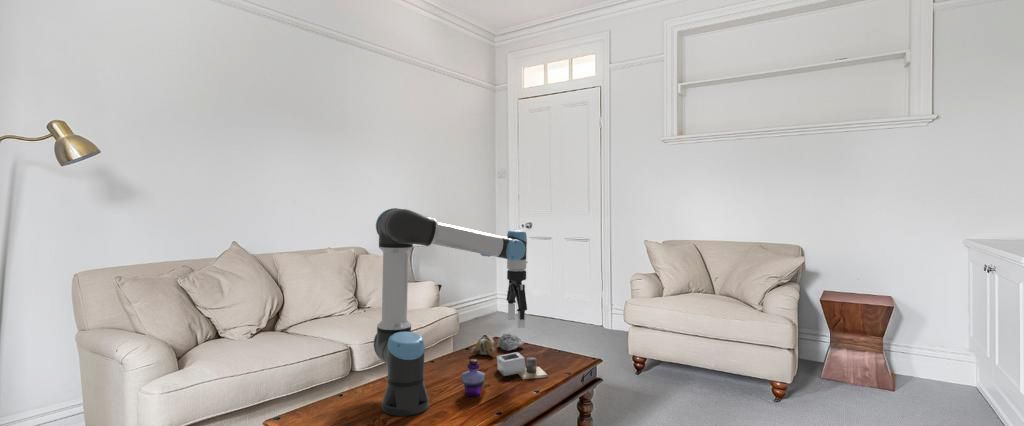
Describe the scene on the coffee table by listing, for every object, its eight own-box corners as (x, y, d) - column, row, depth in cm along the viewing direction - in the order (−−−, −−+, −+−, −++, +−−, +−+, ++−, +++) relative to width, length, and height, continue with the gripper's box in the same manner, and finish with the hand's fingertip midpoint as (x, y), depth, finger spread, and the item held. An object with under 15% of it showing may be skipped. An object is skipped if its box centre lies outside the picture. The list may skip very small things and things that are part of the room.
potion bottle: (489, 396, 184) (489, 362, 184) (465, 400, 180) (466, 365, 180) (479, 388, 192) (480, 355, 191) (457, 391, 188) (457, 358, 187)
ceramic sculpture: (499, 330, 240) (493, 341, 226) (499, 349, 241) (493, 361, 226) (476, 329, 242) (468, 340, 227) (476, 348, 243) (468, 359, 228)
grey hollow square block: (503, 376, 204) (502, 362, 204) (497, 369, 213) (496, 356, 213) (525, 371, 207) (524, 357, 207) (519, 365, 215) (517, 352, 215)
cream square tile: (523, 379, 202) (523, 363, 202) (515, 371, 211) (515, 356, 211) (547, 377, 205) (547, 361, 205) (538, 369, 214) (539, 354, 214)
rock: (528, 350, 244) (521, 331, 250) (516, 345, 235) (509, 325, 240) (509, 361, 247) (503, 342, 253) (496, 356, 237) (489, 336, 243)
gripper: (535, 274, 196) (535, 330, 197) (517, 265, 220) (516, 316, 221) (516, 274, 194) (515, 331, 195) (499, 265, 218) (499, 316, 219)
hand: (516, 323), depth 208 cm, fingers open, 13 cm apart
